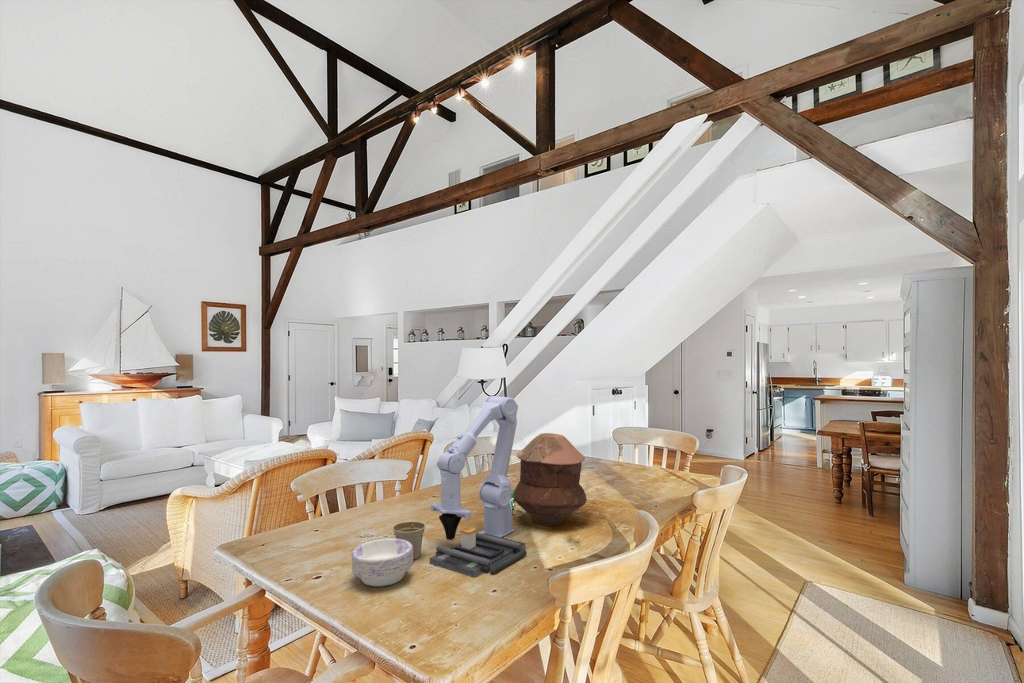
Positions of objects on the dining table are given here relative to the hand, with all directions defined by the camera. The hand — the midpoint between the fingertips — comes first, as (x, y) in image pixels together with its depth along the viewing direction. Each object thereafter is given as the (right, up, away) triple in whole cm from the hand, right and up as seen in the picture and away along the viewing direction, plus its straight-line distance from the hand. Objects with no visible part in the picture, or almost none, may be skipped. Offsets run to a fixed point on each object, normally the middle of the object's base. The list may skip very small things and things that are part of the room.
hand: (450, 538), depth 151 cm
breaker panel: (+9, -2, -6) cm, 11 cm away
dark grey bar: (+13, -3, 0) cm, 13 cm away
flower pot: (-11, -3, -7) cm, 13 cm away
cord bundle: (+9, -2, -7) cm, 12 cm away
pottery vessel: (+31, -4, +24) cm, 40 cm away
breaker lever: (+6, -1, -4) cm, 7 cm away
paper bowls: (-15, -2, -21) cm, 26 cm away
